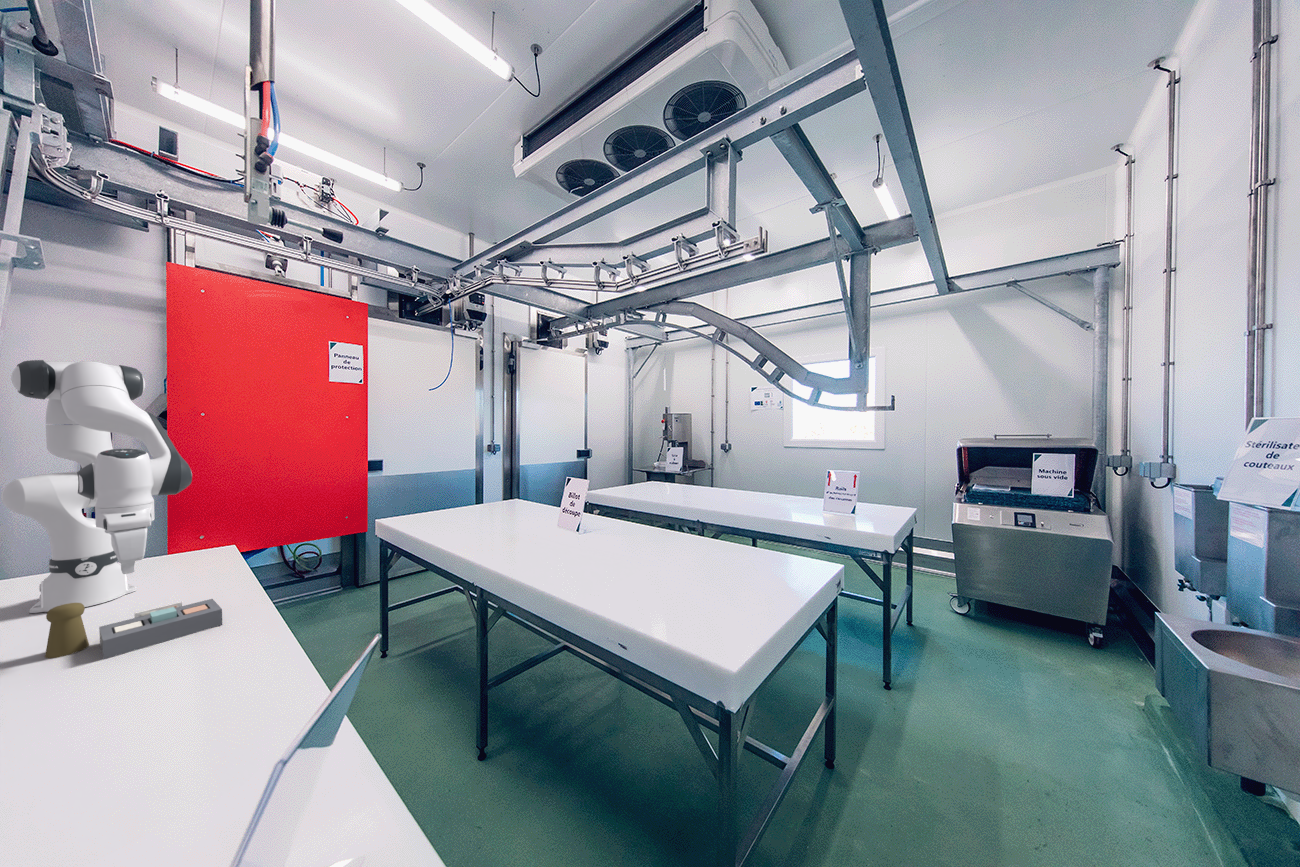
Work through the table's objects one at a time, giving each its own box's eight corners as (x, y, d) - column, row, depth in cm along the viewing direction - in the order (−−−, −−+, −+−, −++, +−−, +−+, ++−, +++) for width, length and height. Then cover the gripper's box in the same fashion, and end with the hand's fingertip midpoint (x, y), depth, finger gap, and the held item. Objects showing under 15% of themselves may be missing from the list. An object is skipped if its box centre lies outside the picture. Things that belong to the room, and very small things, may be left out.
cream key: (114, 639, 99) (114, 627, 99) (140, 632, 102) (140, 620, 102) (116, 644, 97) (115, 632, 97) (143, 637, 100) (142, 625, 100)
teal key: (150, 624, 103) (149, 612, 103) (174, 617, 107) (173, 606, 107) (152, 628, 101) (152, 617, 101) (177, 622, 105) (176, 610, 104)
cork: (55, 659, 93) (53, 612, 92) (37, 656, 94) (35, 609, 94) (96, 645, 99) (94, 600, 98) (78, 642, 100) (76, 598, 100)
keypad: (99, 641, 100) (98, 621, 100) (211, 611, 116) (210, 594, 116) (103, 659, 93) (102, 637, 93) (222, 624, 109) (221, 606, 109)
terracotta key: (183, 621, 108) (182, 610, 108) (205, 615, 111) (204, 604, 111) (185, 625, 106) (185, 614, 106) (208, 619, 109) (208, 608, 109)
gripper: (101, 512, 102) (103, 566, 103) (107, 525, 91) (109, 586, 91) (141, 507, 108) (142, 559, 108) (152, 520, 96) (154, 578, 97)
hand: (127, 572), depth 100 cm, fingers closed
